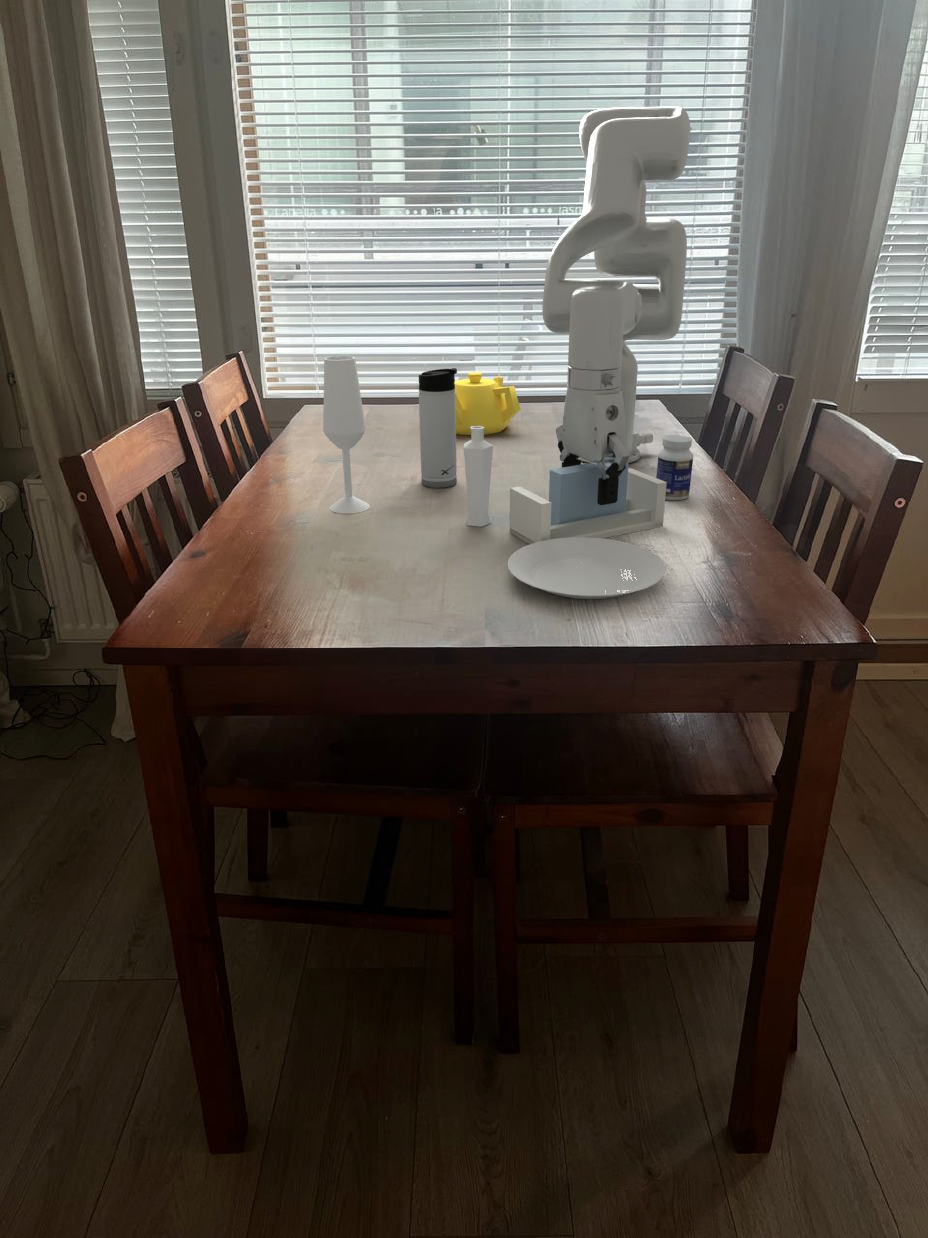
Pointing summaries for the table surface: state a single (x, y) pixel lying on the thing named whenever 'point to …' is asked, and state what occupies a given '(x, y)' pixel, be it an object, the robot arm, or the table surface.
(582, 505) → the door panel
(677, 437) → the pill bottle
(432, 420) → the travel mug
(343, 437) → the champagne flute
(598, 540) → the plate
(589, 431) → the robot arm
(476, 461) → the perfume bottle
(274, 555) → the table surface
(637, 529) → the track frame
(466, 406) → the teapot
